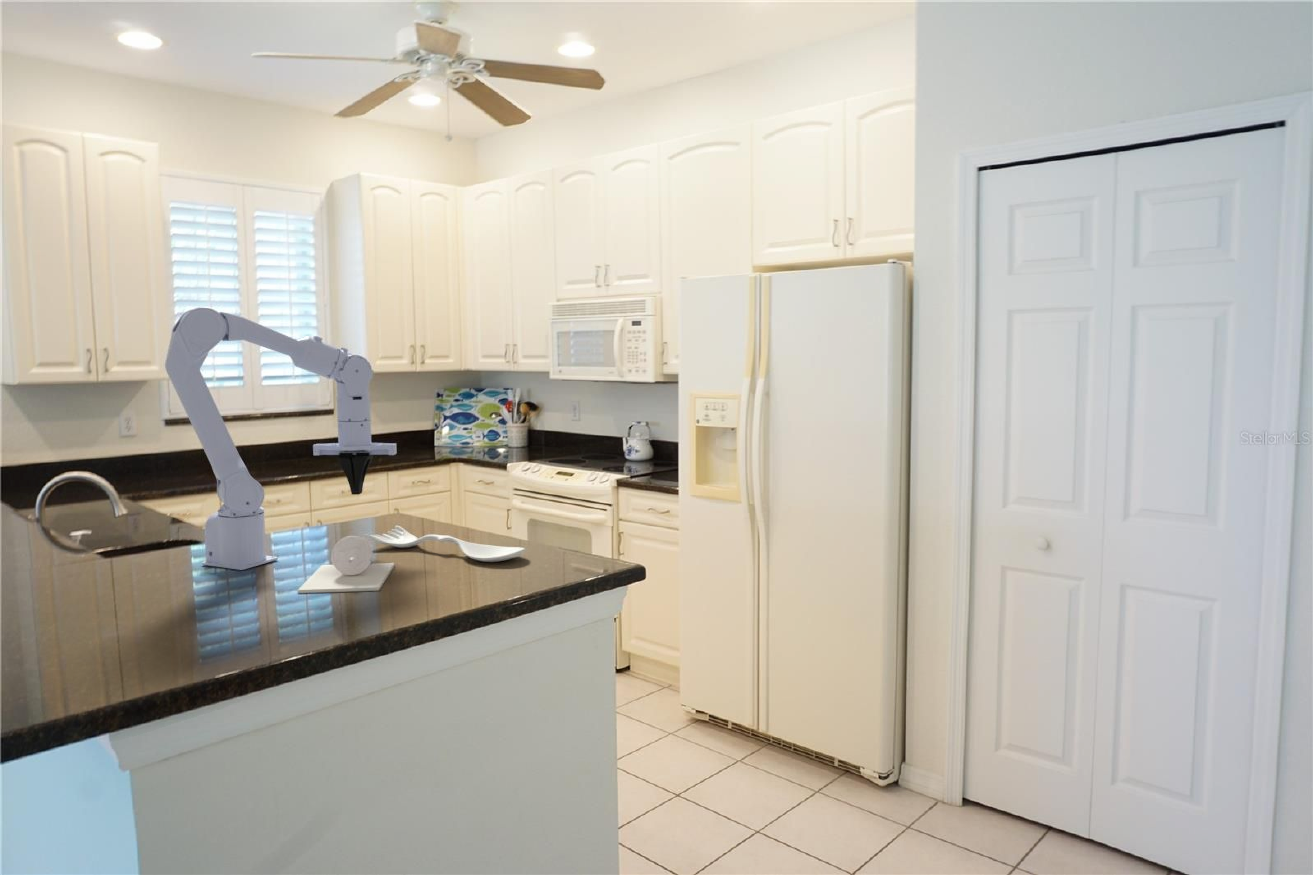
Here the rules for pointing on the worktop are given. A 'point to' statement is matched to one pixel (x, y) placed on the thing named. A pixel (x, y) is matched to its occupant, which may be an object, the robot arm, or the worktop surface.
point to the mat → (347, 579)
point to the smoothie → (352, 555)
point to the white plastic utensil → (469, 549)
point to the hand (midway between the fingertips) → (356, 493)
